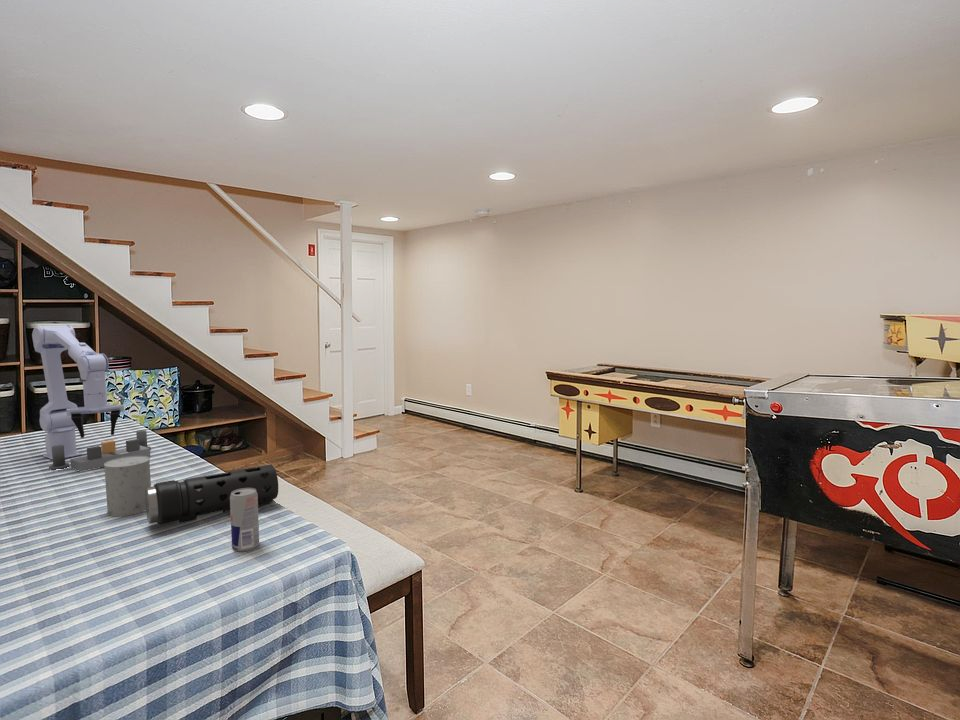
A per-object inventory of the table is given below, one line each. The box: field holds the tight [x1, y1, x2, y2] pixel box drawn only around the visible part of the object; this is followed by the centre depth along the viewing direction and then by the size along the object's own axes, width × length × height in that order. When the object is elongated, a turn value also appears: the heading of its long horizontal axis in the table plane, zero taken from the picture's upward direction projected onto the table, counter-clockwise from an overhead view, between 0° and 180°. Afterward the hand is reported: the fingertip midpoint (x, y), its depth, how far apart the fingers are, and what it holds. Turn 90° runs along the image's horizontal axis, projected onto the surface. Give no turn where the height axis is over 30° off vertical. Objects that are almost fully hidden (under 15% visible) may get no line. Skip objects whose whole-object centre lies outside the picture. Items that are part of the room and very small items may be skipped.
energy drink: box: [229, 488, 260, 552], centre depth 112 cm, size 5×5×12 cm
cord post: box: [135, 430, 152, 451], centre depth 184 cm, size 5×5×7 cm
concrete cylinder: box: [103, 456, 152, 517], centre depth 132 cm, size 10×10×12 cm
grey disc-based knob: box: [48, 445, 70, 470], centre depth 164 cm, size 5×5×7 cm
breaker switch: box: [100, 440, 117, 454], centre depth 171 cm, size 2×3×4 cm, turn 147°
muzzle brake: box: [145, 464, 279, 525], centre depth 129 cm, size 10×28×10 cm, turn 128°
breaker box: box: [70, 438, 151, 471], centre depth 170 cm, size 7×20×6 cm, turn 147°
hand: (97, 435), depth 165 cm, fingers open, 7 cm apart
